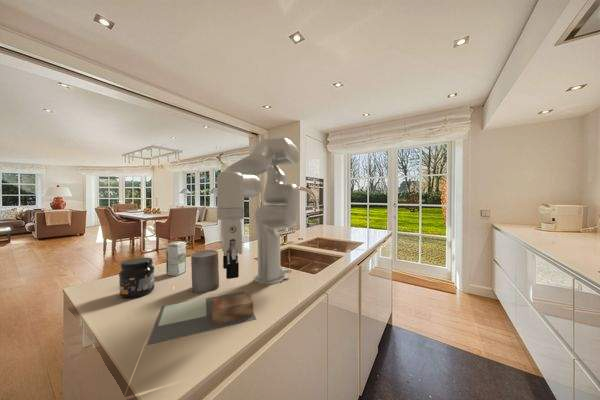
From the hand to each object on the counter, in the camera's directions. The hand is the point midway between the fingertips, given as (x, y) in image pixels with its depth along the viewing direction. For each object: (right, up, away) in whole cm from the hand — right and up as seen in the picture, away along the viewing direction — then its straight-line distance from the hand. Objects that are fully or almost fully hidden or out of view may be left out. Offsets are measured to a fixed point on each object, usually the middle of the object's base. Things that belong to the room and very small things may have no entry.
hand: (230, 272), depth 64 cm
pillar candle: (-16, -13, +21) cm, 30 cm away
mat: (-8, -13, +2) cm, 16 cm away
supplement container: (-40, -13, +17) cm, 45 cm away
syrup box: (-37, -13, +37) cm, 54 cm away
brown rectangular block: (0, -13, +1) cm, 13 cm away
